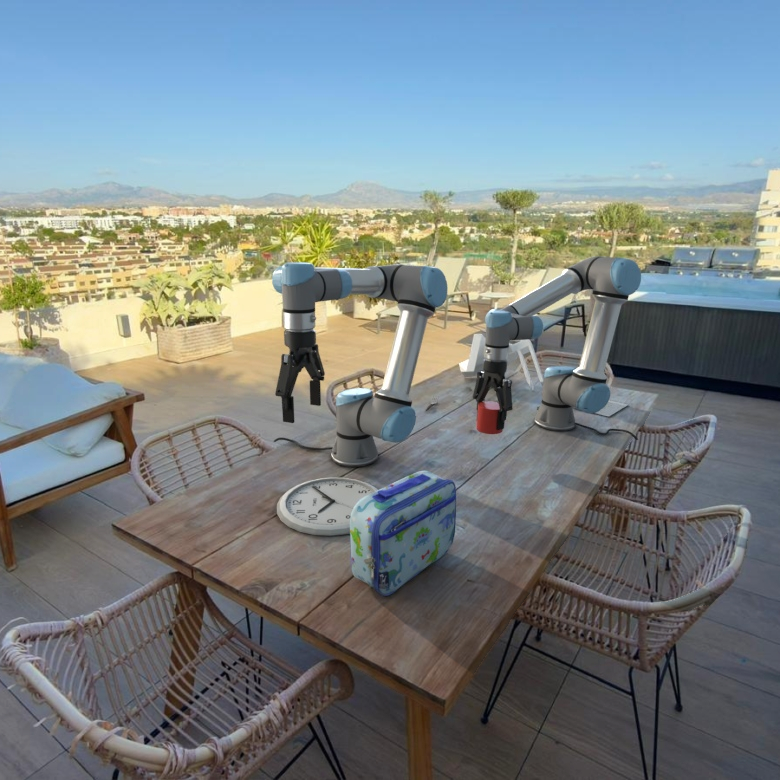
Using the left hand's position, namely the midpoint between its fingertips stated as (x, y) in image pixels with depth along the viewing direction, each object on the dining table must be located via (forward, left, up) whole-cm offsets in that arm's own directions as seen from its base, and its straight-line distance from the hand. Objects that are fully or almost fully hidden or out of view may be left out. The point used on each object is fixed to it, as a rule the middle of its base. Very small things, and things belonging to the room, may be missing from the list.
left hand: (302, 413), depth 131 cm
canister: (+38, +57, -20) cm, 72 cm away
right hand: (+38, +57, -18) cm, 71 cm away
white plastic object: (+28, +141, -28) cm, 146 cm away
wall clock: (+5, +6, -28) cm, 29 cm away
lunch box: (+32, -14, -28) cm, 45 cm away
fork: (+7, +96, -28) cm, 100 cm away
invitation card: (+76, +124, -28) cm, 148 cm away
